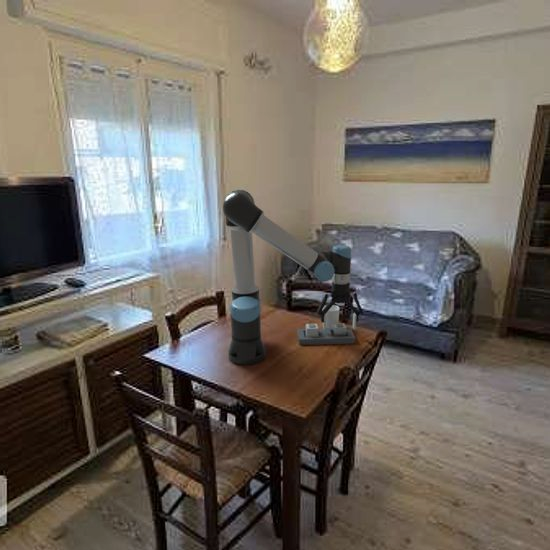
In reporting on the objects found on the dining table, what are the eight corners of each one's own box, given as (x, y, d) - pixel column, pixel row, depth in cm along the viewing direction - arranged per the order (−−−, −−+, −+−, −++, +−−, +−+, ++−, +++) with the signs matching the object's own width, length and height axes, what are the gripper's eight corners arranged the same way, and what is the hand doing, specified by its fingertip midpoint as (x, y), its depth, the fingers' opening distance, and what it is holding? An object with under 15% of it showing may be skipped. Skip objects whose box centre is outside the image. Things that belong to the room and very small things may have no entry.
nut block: (334, 341, 174) (335, 327, 172) (332, 336, 179) (332, 322, 177) (346, 340, 174) (346, 327, 173) (343, 335, 179) (344, 322, 177)
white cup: (338, 324, 191) (339, 304, 188) (339, 331, 183) (340, 311, 180) (321, 324, 191) (322, 304, 189) (321, 331, 184) (322, 310, 181)
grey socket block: (299, 344, 171) (299, 331, 169) (297, 333, 182) (297, 320, 180) (355, 343, 172) (355, 329, 170) (349, 332, 182) (350, 319, 180)
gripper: (313, 285, 165) (312, 332, 172) (372, 284, 166) (369, 331, 172) (310, 279, 173) (310, 325, 179) (367, 278, 173) (365, 324, 179)
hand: (339, 328), depth 176 cm, fingers open, 12 cm apart
